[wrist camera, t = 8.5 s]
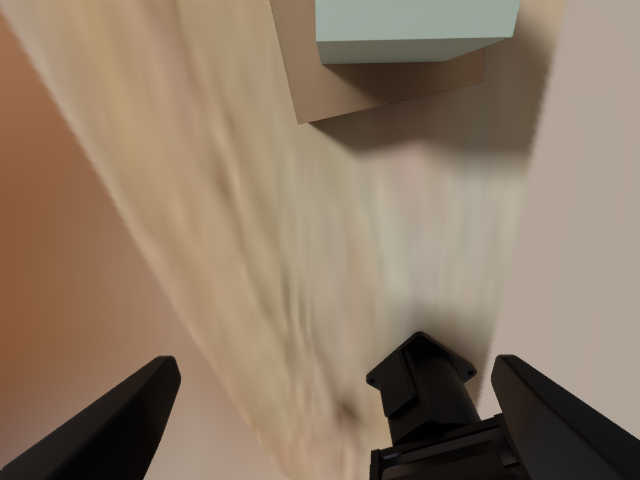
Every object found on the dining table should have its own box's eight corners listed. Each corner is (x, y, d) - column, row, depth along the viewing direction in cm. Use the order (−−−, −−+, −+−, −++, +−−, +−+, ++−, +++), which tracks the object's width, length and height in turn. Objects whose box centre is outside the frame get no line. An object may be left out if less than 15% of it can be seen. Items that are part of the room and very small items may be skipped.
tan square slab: (442, -119, 13) (488, -208, 9) (448, 86, 16) (483, 82, 12) (264, -64, 14) (240, -124, 10) (304, 119, 17) (297, 124, 13)
